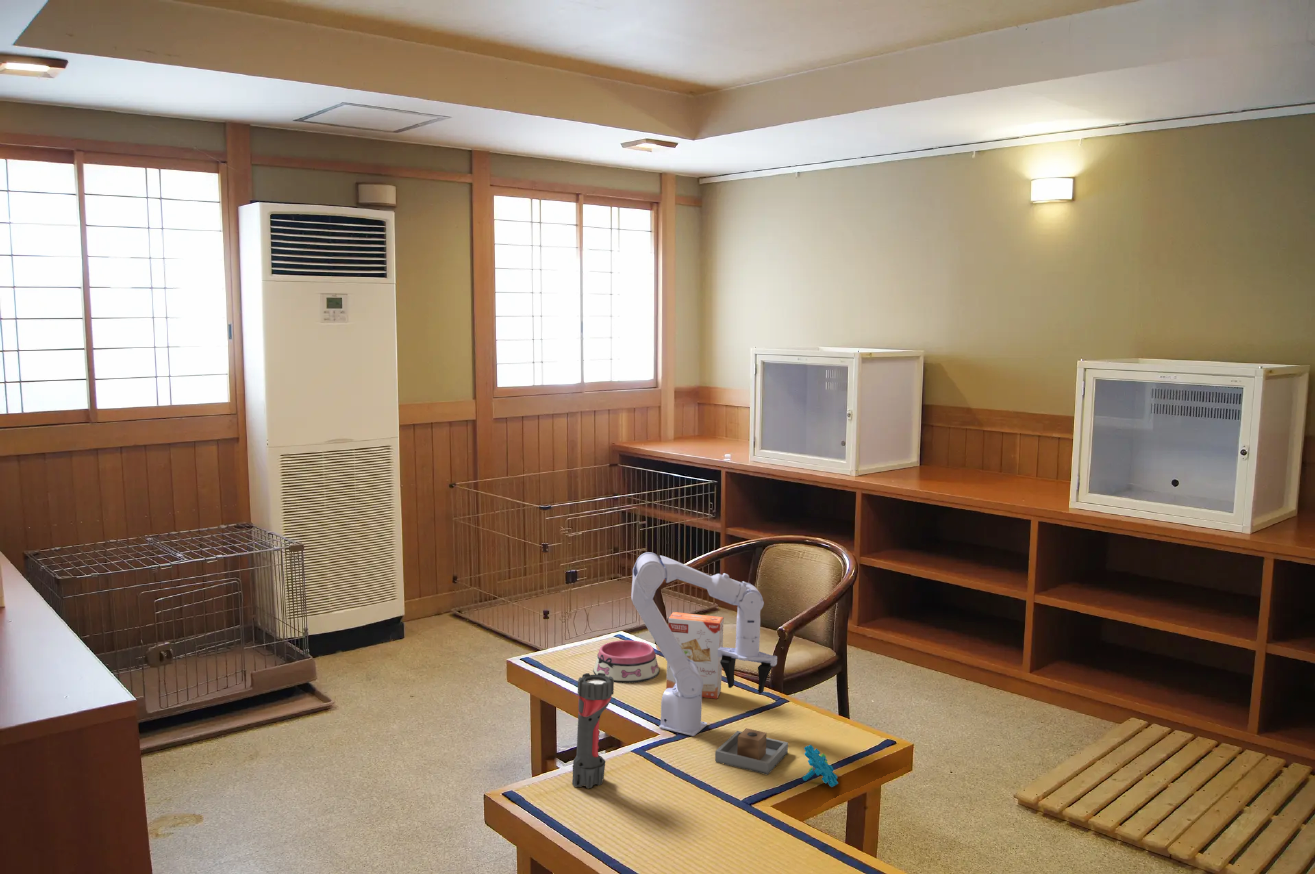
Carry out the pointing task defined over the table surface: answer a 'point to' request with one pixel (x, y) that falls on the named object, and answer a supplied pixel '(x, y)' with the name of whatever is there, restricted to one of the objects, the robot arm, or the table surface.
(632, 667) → the dog bowl
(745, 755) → the walnut block
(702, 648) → the cracker box
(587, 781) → the flashlight
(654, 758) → the table surface
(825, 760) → the gear
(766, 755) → the tray
